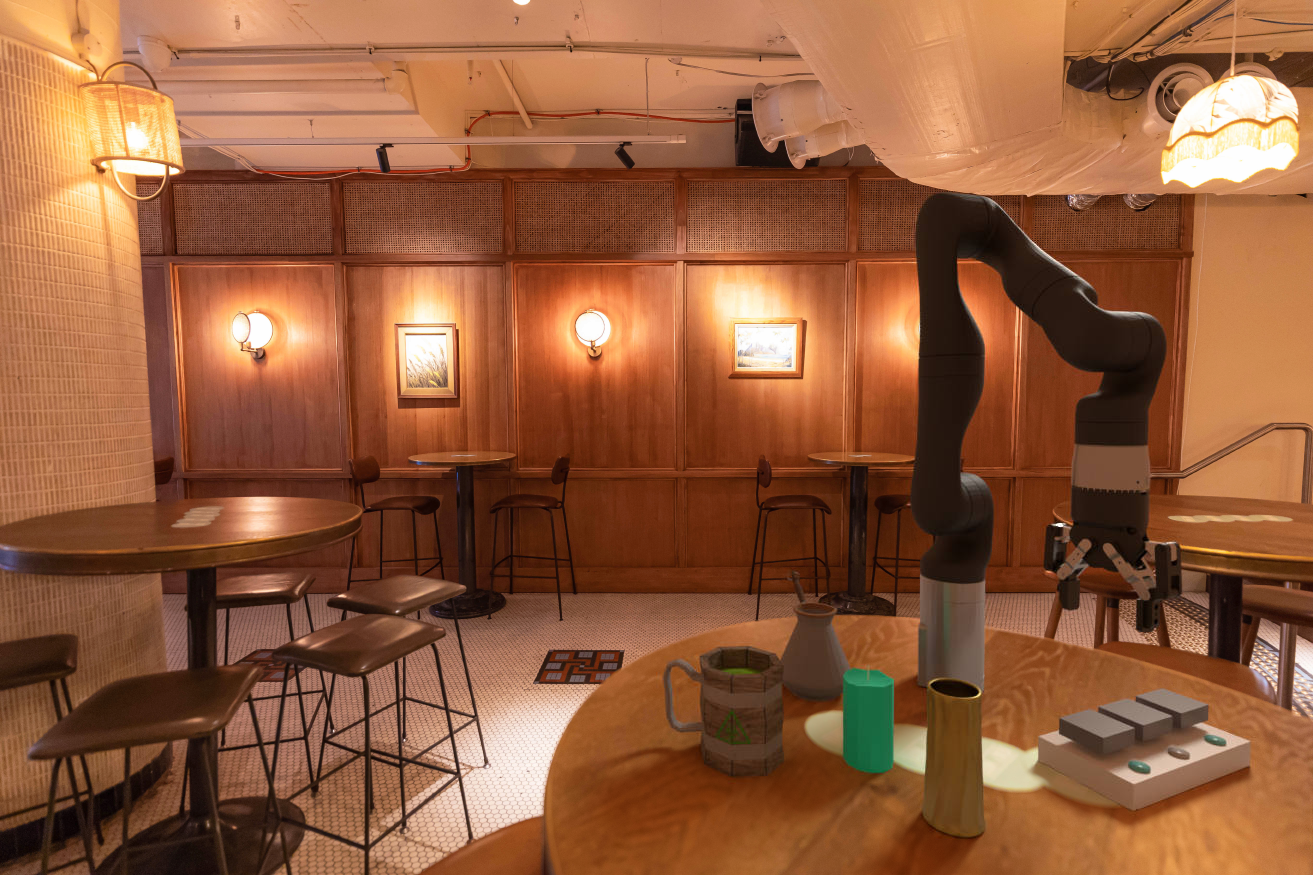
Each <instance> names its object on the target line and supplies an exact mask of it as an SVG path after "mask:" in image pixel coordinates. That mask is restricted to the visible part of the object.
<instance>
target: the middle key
mask: <svg viewBox="0 0 1313 875" xmlns="http://www.w3.org/2000/svg"><path fill="white" fill-rule="evenodd" d="M1135 701H1136V700H1132V699H1130V698H1128V697H1127V698H1123V699H1120V700H1116V701H1113V702H1109V703H1105V704H1102V705H1098V707H1097V709H1098V710H1097V712H1098V713H1101V714H1103V715H1105V716H1108V717H1110V718H1112V719H1115V720H1117V721H1119V722H1122V723H1124V724H1127V725H1129V726H1131V727H1134V728H1135V739H1137V740H1140V741H1142V742H1144V741H1147V740H1150V739H1153V738H1156V737H1159V736H1162V735H1165V734H1168V733H1171V732H1172V722H1173V716H1171V715H1169V714H1166V713H1163V712H1161V711H1158V710H1156V709H1153V708H1151V707H1148V706H1145V705H1143V704H1140V703H1138V702H1135Z"/></svg>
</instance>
